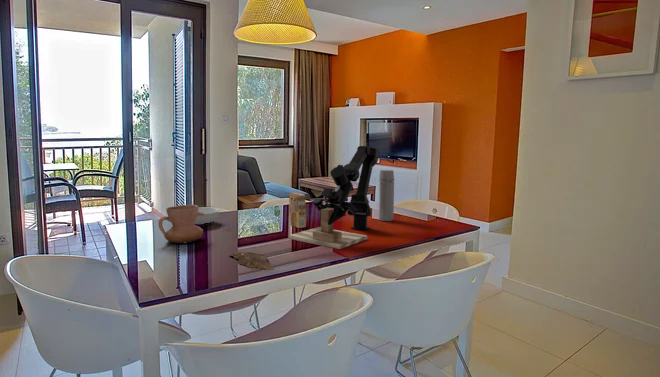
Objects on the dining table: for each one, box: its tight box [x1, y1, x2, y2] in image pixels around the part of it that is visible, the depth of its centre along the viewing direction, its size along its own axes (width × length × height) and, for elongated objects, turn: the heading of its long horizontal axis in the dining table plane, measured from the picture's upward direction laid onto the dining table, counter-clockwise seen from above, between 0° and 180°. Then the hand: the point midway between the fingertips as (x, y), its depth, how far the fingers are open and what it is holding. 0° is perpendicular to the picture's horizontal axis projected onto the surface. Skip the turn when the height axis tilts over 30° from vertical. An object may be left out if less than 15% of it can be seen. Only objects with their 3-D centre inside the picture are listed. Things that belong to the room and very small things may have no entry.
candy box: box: [288, 192, 307, 229], centre depth 199 cm, size 9×4×15 cm, turn 33°
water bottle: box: [378, 169, 395, 222], centre depth 210 cm, size 9×8×25 cm
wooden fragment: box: [231, 250, 275, 271], centre depth 147 cm, size 26×11×1 cm, turn 34°
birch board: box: [288, 226, 368, 250], centre depth 176 cm, size 19×26×2 cm
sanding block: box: [313, 208, 342, 243], centre depth 169 cm, size 6×10×12 cm, turn 52°
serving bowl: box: [194, 206, 220, 224], centre depth 203 cm, size 21×21×7 cm
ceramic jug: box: [157, 204, 204, 244], centre depth 172 cm, size 18×14×14 cm
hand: (324, 223), depth 168 cm, fingers closed on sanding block, 3 cm apart
